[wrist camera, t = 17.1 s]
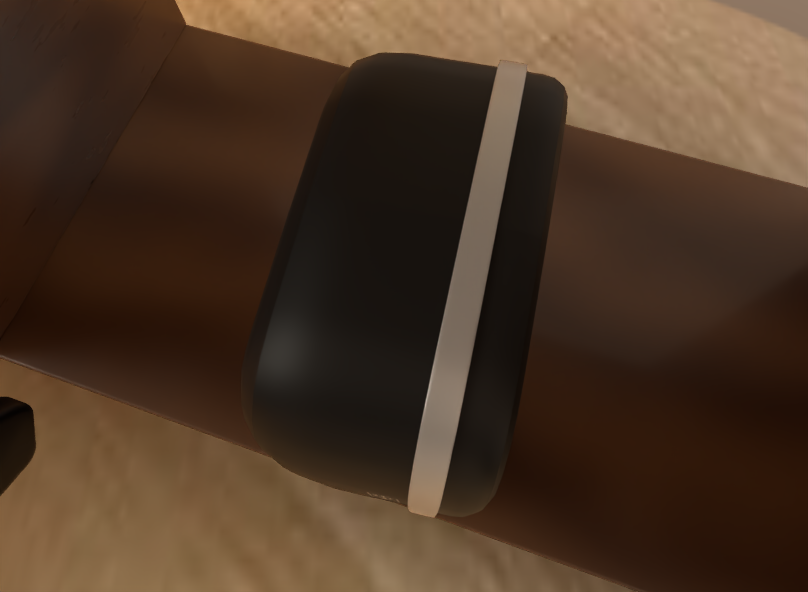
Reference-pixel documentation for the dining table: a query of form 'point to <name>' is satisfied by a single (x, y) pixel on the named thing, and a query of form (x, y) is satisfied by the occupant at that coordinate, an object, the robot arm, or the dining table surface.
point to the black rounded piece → (409, 282)
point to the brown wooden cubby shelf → (554, 317)
